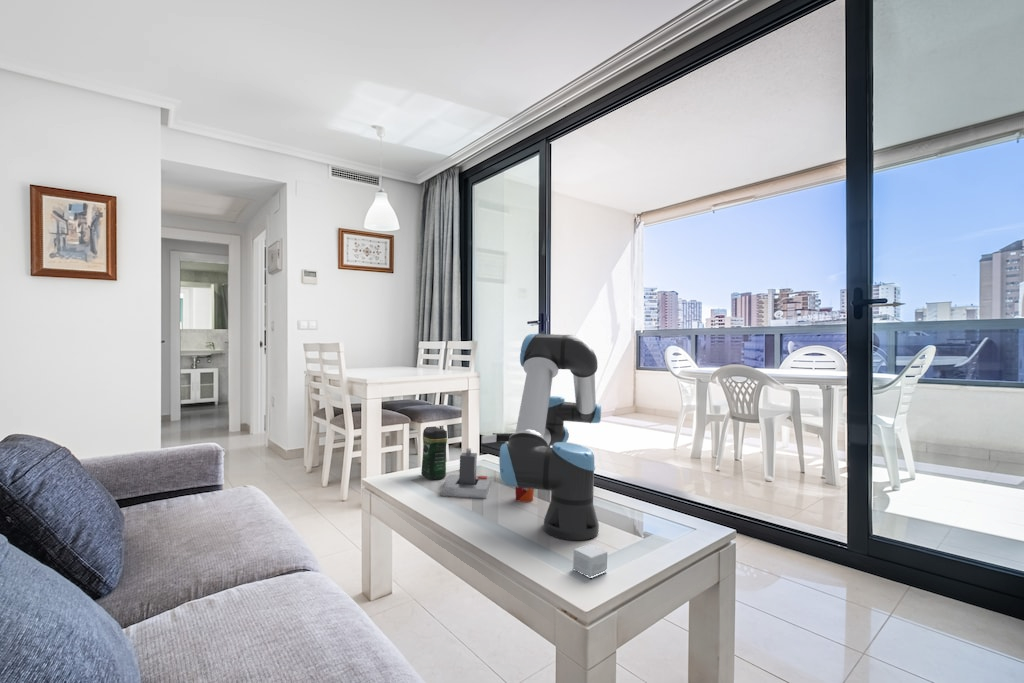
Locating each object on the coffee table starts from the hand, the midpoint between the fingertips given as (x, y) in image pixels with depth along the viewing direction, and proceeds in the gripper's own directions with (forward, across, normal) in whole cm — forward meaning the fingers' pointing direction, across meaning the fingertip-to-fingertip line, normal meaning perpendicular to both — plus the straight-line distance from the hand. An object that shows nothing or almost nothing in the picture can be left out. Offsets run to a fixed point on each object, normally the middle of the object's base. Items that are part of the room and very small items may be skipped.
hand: (493, 442), depth 173 cm
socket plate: (+10, +1, -16) cm, 19 cm away
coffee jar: (+11, +21, -15) cm, 28 cm away
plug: (+10, +1, -15) cm, 18 cm away
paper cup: (+1, -18, -16) cm, 24 cm away
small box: (+23, -64, -17) cm, 70 cm away
